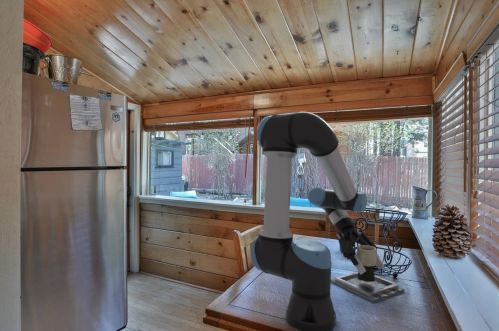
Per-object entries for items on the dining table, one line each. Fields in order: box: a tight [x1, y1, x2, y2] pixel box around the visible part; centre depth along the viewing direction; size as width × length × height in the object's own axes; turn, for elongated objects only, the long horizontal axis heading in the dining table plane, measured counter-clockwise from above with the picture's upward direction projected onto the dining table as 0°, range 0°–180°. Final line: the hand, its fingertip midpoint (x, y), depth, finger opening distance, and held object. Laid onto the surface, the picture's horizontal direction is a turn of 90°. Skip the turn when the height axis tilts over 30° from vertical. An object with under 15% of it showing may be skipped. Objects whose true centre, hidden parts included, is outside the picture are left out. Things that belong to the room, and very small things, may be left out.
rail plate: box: [331, 271, 405, 304], centre depth 115 cm, size 18×20×2 cm
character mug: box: [356, 244, 378, 282], centre depth 115 cm, size 11×7×13 cm, turn 141°
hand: (372, 270), depth 113 cm, fingers closed on character mug, 10 cm apart
